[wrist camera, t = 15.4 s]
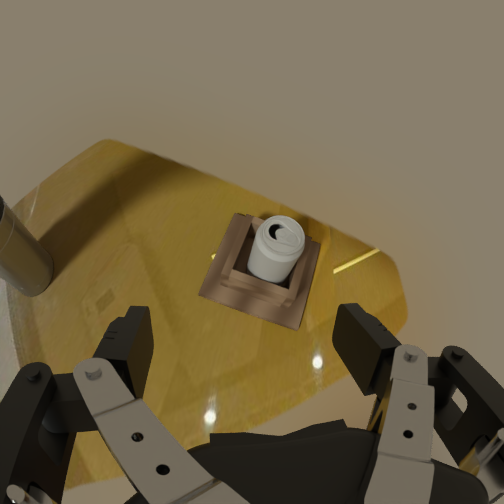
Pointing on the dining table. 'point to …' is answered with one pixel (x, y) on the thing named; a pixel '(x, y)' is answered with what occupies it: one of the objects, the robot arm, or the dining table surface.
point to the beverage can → (276, 249)
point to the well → (253, 289)
